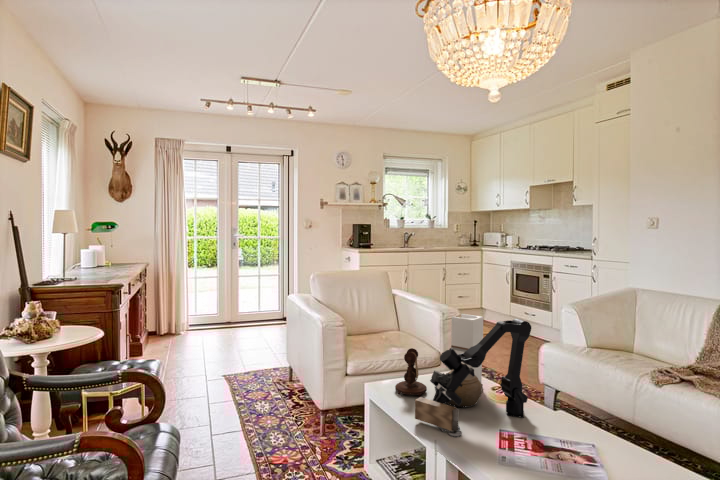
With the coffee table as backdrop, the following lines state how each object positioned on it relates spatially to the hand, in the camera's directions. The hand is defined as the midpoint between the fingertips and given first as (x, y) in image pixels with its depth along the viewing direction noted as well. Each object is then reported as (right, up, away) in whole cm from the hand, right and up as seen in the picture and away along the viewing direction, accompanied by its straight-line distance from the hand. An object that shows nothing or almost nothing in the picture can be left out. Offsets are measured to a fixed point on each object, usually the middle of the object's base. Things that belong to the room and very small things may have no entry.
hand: (431, 407), depth 173 cm
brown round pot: (+16, -6, +21) cm, 27 cm away
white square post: (+23, -6, +39) cm, 46 cm away
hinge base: (+7, -7, -9) cm, 13 cm away
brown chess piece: (-4, -6, +34) cm, 35 cm away
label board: (+4, -6, +2) cm, 8 cm away
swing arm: (+1, -5, -4) cm, 6 cm away
